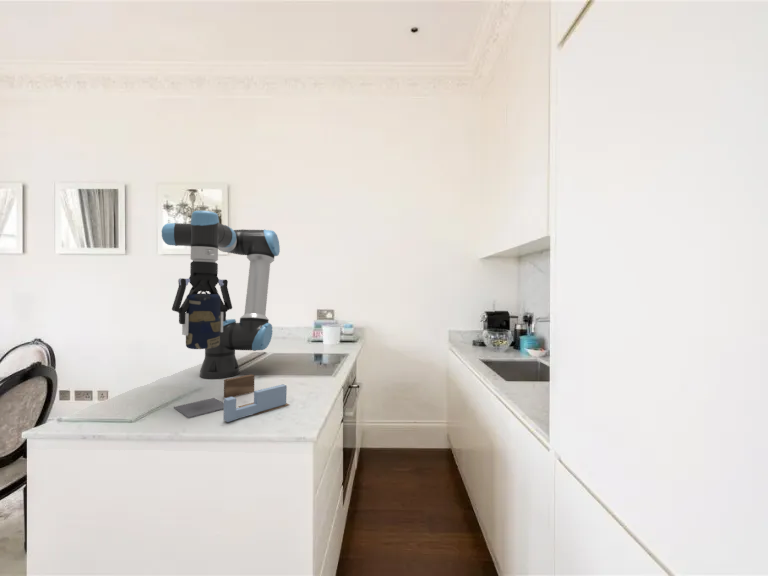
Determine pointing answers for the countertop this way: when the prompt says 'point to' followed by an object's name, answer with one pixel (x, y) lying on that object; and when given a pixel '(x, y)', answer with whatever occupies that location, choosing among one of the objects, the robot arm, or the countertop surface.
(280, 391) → the tie jaw
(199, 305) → the canister
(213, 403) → the mat
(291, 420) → the countertop surface
